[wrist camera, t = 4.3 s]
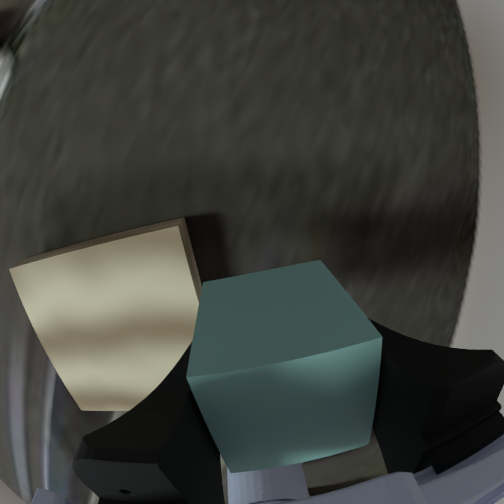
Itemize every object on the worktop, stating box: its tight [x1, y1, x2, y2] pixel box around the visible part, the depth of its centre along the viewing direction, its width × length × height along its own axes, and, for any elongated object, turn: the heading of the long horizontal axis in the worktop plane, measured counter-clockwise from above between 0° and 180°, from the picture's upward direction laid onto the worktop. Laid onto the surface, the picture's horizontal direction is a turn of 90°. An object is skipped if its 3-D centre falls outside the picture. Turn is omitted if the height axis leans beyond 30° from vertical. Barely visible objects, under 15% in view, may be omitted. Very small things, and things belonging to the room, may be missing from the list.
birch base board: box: [9, 217, 202, 411], centre depth 20 cm, size 14×14×2 cm
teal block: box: [186, 260, 382, 473], centre depth 11 cm, size 5×5×6 cm
